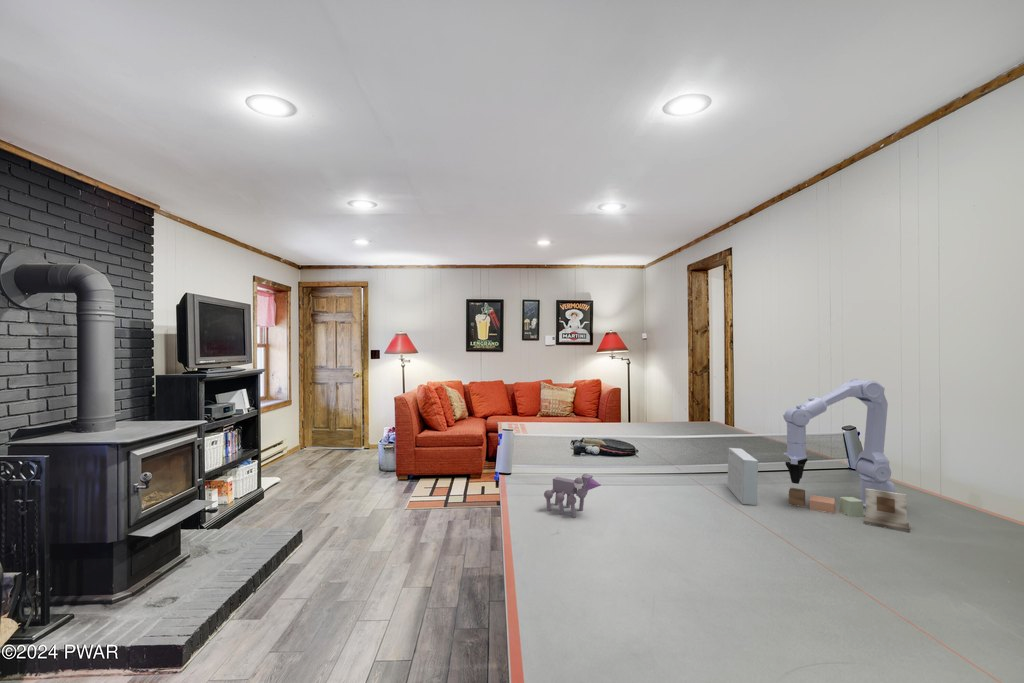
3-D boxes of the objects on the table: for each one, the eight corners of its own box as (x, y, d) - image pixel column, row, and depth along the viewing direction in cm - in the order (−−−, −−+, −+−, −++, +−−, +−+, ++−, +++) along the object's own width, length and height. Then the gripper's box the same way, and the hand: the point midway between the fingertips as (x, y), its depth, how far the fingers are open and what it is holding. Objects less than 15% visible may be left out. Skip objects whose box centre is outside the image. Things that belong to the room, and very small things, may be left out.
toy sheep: (608, 514, 155) (607, 473, 154) (594, 525, 146) (593, 483, 146) (557, 502, 167) (556, 465, 166) (541, 512, 158) (540, 473, 158)
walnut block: (790, 501, 166) (790, 487, 166) (805, 503, 164) (805, 489, 164) (788, 504, 163) (788, 490, 163) (803, 507, 160) (803, 493, 160)
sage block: (852, 511, 156) (852, 496, 156) (863, 516, 151) (863, 501, 151) (839, 511, 156) (839, 497, 156) (850, 516, 151) (849, 501, 151)
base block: (811, 504, 164) (810, 494, 164) (835, 508, 160) (834, 498, 160) (809, 510, 158) (809, 500, 158) (834, 514, 154) (834, 504, 154)
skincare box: (759, 505, 162) (758, 460, 162) (742, 504, 163) (741, 459, 163) (741, 487, 183) (741, 447, 183) (727, 486, 184) (726, 447, 184)
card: (908, 526, 143) (908, 493, 143) (909, 532, 138) (909, 499, 138) (864, 518, 150) (863, 487, 150) (863, 523, 145) (863, 491, 145)
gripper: (786, 437, 172) (786, 474, 172) (780, 444, 160) (780, 483, 160) (808, 439, 167) (809, 477, 167) (804, 446, 156) (804, 487, 156)
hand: (796, 480), depth 163 cm, fingers open, 7 cm apart
